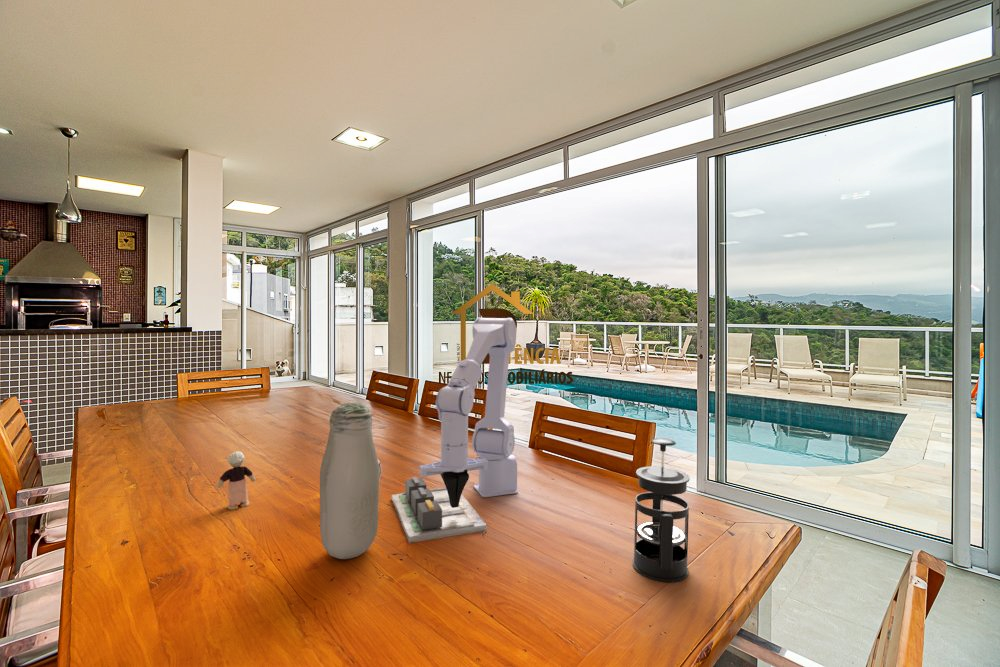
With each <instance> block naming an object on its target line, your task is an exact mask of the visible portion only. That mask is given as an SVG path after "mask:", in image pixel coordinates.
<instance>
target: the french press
mask: <svg viewBox="0 0 1000 667" xmlns="http://www.w3.org/2000/svg"><path fill="white" fill-rule="evenodd" d="M650 442H651V443H652V444H654V445H656V446H657V445H658V446H659V451H660V452H661V466H652V465H651V466H650V465H649V466H643V467H640V468H637V469H636V472H635V475H636V476H637V477H638V481H637V482H638V486H639V488H641V489H643V490H645V491H647V492H642V493H639V494H637V495H636V496H635V502H634V505H635V506H634V540H633V542H634V547H633V550H634V551H633V559H632V566H633V568H634V570H635V571H636V572H637V573H638V574H640V575H641V576H643V577H644V578H647V579H650V580H652V581H657V582H661V583H678V582H682V581H684V580H685V579H687V577H688V576H689V568H688V553H689V552H688V549H689V548H688V547H689V513H690V512H689V511H690V510H689V508H690V505H689V502H688V501H687V500H685V499H684V498H682V497H680V496H677V495H681V494H684V493H686V492H687V488H688V487H687V486H688V484H687V483H689V481H690V479H691V478H690V475H688V474H687V473H686V472H684V471H681V470H679V469H675V468H672V467H667V466H664V465H665V464H664V463H665V452H666V450H667V447H669V446H671V447H672V446H675V445H676V441H674V440H672V439H669V438H662V437H661V438H659V437H658V438H657V437H656V438H652V439H650ZM649 500H652V508H650V507H647V506H645V505H643V504H642V503H640V502H641V501H649ZM663 501H665V502H670V503H674V504H677V505H678V506H680V507H683V509H682V510H675V511H668V510H664V511H663V506H664V504H663V503H664V502H663ZM638 512H640V513H642V514H643V515H645V516H648V517H652V521H651V522H649V521H648V522H643V523H640V524H639V525H638ZM681 519H685V520H684V531H683V530H682V529H680V528H679V527H677V526H674V520H681ZM637 537H639V538H640V539H637ZM683 544H684V545H683ZM682 545H683V546H682ZM650 557H658V560H657V559H653V558H650Z"/></svg>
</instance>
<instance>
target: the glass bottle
mask: <svg viewBox="0 0 1000 667" xmlns="http://www.w3.org/2000/svg"><path fill="white" fill-rule="evenodd" d="M372 429H373V417H372V413H371V411H370V409H369V407H368V406H366V405H365V404H363V403H361V402H347V403H342V404H340V405H338V406H337V407H335V408H334V409H333V410H332V411H331V413H330V417H329V434H328V437H327V443H326V447H325V450H324V453H323V456H322V460H321V465H320V470H319V527H320V528H319V530H320V531H319V532H320V539H321V544H322V547H323V548H324V550H325V551H326V552H327V553H328V554H329V556H331V557H334V558H335V559H338V560H349V559H353V558H355V557H359V556H360V555H362V554H364V553H365V552H366V551H368V549H369V548H371V546H372V545H373V542H374V541H375V539H376V536H377V532H378V528H379V498H380V479H379V463H378V460H379V459H378V455H377V451H376V447H375V443H374V440H373V430H372Z"/></svg>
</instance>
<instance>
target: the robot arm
mask: <svg viewBox="0 0 1000 667" xmlns="http://www.w3.org/2000/svg"><path fill="white" fill-rule="evenodd" d="M471 330H472V338H473V340H472V342H471V345H470V348H469V349H468V350H469V351H468V353H467V355H466V358H465V359H463V360H460V361H459V362H458V364H457V365H456V367H455V370H453V374H452V375H451V377H450V380H449V381H448V384H447V385H445V386H443V387H441V388H440V389H439V391H438V392H437V394H436V400H435V408H436V410H437V413H438V421H440V461H435V462H432V463H427V464H422V465H419V475H420V478H426V477H427V476H435V475H437V476H438V475H440V476H441V479H442V481H443V483H444V486H445V487H446V489H447V492H448V496H449V501H450V505H451V507H452V508H455V507H459V501H460V497H461V494H462V495H463V491H464V489H465V487H466V485H467V482H468V481H469V478H470V474H469V473H468V472H469V471H478V483H477V484H473V488H474V490H476V491H477V493H478V494H480V496H481V497H482V498H490V497H496V496H504V495H511V494H518V493H519V490H518V463H517V458H516V457H515V455H514V454H513V452H514V449H515V445H516V443H515V428H514V426H513V424H512V423H511V422H509V420H507V419H506V417H505V411H506V396H507V386H508V385H507V384H508V374H509V373H508V372H509V361H510V354H511V353H513V352H515V351H516V350H515V349H516V344H517V342H516V341H517V326H516V322H515V320H514V319H513V318H512V317H501V318H500V317H498V318H497V317H481V316H480V317H479V316H478V317H476V319H475V320H474V321H473V324H472V329H471ZM488 354H489V362H488V363H489V364H488V377H487V384H486V386H487V387H486V399H485V408H484V409H485V411H484V417H483V418H481V419H480V420H478V421H476V423H475V426H474V432H473V434H472V437H471V447H472V449H473V451H474V453H475V454H476V457H478V458H469V414H470V413H471V411H472V410H473V406H474V399H475V396H476V393H475V389H476V388H477V385H478V382H479V380H480V379H481V376H482V373H483V370H482V368H481V365H482V364H483V362H484V360H485V359H486V357H487V355H488Z"/></svg>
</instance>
